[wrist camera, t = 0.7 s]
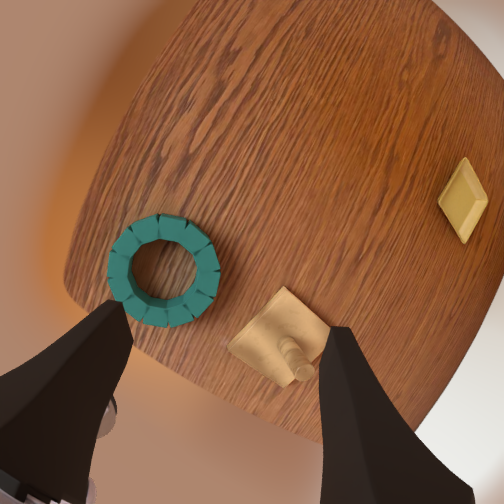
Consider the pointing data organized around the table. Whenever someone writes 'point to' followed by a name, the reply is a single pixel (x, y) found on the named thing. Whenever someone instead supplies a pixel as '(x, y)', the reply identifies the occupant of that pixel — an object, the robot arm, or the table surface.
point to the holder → (282, 340)
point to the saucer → (463, 200)
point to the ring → (155, 308)
